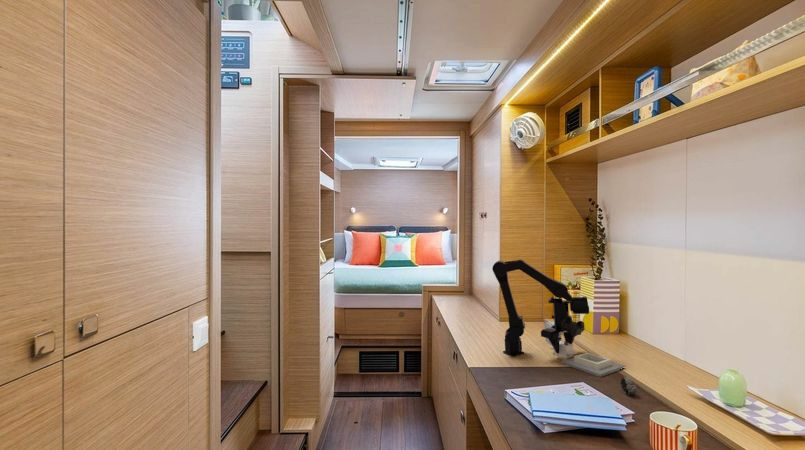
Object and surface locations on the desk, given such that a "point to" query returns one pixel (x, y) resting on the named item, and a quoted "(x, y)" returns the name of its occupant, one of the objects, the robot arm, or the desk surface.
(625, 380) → the dark grey lumpy piece
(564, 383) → the desk surface
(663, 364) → the desk surface
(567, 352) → the servo block
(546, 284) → the robot arm
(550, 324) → the medicine box
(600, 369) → the plate
